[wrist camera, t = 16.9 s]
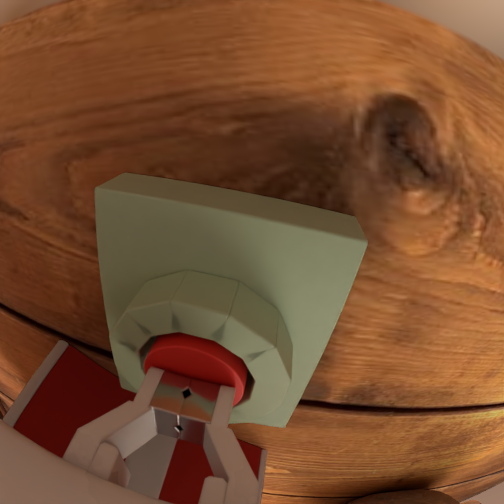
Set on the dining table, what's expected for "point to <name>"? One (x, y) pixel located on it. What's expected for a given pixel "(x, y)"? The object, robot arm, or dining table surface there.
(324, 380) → the dining table surface
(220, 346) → the push button
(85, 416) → the white and red box
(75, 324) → the dining table surface
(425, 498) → the bowl
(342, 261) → the button box
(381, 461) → the dining table surface
